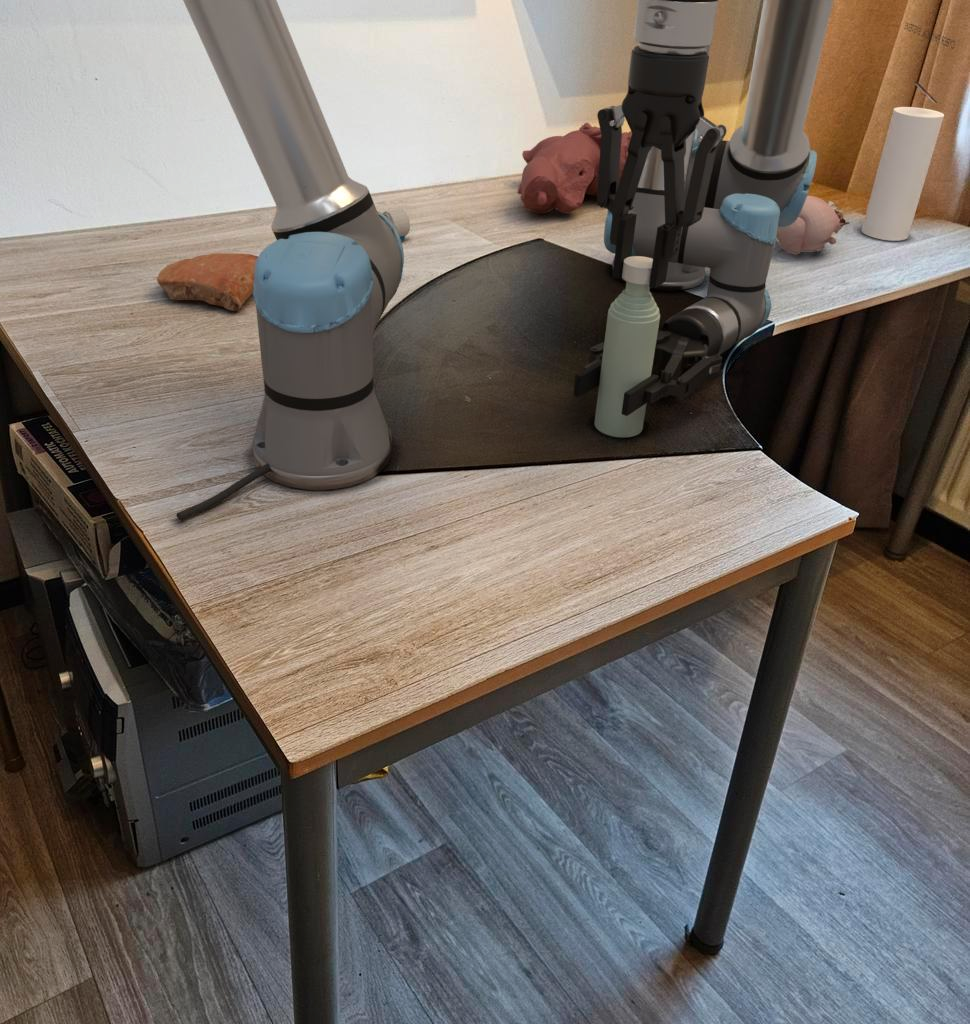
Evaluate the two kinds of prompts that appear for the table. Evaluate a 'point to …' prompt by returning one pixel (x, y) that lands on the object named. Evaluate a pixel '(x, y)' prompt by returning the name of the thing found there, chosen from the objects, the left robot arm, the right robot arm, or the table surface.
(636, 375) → the bottle
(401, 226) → the electric motor
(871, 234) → the tall white cylinder
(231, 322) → the table surface
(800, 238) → the toy
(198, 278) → the ceramic shard
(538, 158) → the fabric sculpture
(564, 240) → the table surface
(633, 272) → the cap
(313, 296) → the left robot arm
